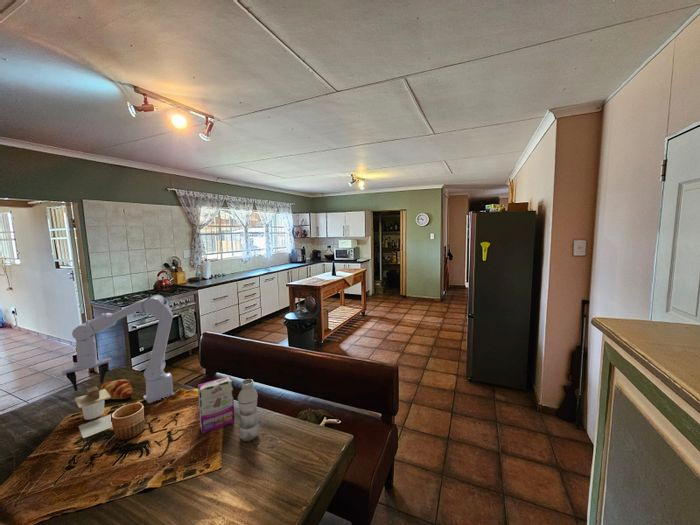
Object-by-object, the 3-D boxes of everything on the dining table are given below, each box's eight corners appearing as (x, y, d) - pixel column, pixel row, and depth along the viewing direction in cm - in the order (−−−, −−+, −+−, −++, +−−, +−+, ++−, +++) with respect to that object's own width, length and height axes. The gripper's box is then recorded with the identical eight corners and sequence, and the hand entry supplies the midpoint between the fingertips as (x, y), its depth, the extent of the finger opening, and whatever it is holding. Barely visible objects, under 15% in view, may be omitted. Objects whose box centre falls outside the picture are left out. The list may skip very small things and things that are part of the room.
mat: (113, 414, 111) (113, 413, 111) (119, 424, 105) (119, 423, 105) (78, 427, 103) (78, 426, 103) (83, 439, 97) (83, 438, 97)
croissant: (96, 399, 128) (84, 388, 124) (118, 380, 135) (107, 369, 131) (125, 409, 119) (113, 398, 115) (146, 388, 127) (136, 377, 123)
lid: (105, 390, 116) (104, 380, 115) (110, 397, 110) (110, 387, 110) (74, 399, 109) (74, 389, 108) (79, 408, 103) (78, 397, 103)
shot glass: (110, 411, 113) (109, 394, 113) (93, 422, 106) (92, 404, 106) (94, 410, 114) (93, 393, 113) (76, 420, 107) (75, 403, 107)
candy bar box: (231, 416, 110) (230, 375, 109) (234, 422, 106) (233, 380, 105) (199, 427, 104) (197, 383, 102) (201, 434, 100) (199, 389, 98)
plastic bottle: (253, 445, 95) (251, 387, 93) (234, 442, 96) (233, 385, 94) (262, 432, 101) (261, 378, 99) (245, 429, 102) (244, 376, 101)
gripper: (107, 345, 121) (109, 376, 122) (59, 356, 110) (62, 390, 111) (111, 349, 117) (113, 381, 118) (61, 361, 106) (64, 396, 107)
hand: (89, 386), depth 114 cm, fingers open, 7 cm apart
